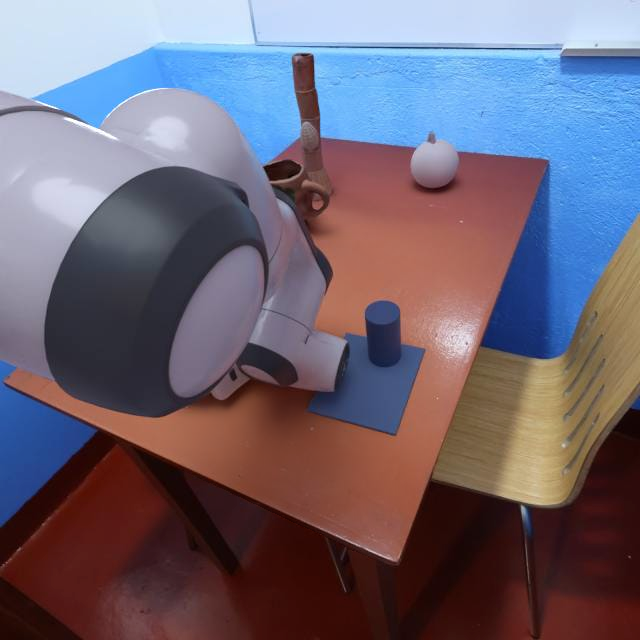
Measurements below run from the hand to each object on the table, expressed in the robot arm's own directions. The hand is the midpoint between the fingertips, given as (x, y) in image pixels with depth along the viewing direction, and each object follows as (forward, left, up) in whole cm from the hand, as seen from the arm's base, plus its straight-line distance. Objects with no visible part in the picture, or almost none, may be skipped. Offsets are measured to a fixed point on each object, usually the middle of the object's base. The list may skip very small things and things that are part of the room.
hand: (172, 327), depth 76 cm
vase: (+55, -2, -6) cm, 55 cm away
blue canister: (+8, -33, -5) cm, 34 cm away
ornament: (+62, -28, -6) cm, 68 cm away
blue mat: (+3, -32, -5) cm, 32 cm away
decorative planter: (+38, -3, -6) cm, 38 cm away
